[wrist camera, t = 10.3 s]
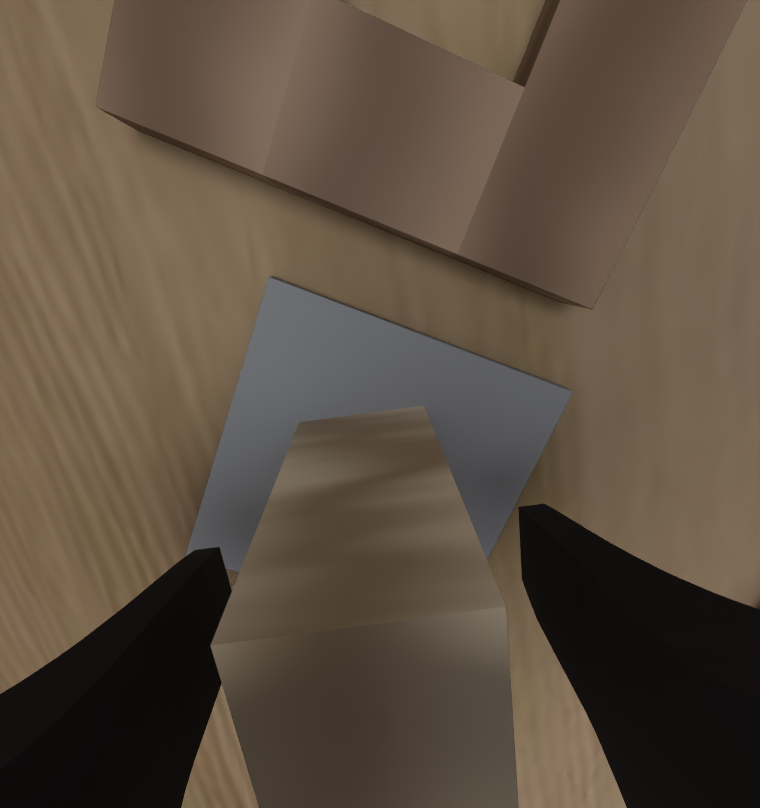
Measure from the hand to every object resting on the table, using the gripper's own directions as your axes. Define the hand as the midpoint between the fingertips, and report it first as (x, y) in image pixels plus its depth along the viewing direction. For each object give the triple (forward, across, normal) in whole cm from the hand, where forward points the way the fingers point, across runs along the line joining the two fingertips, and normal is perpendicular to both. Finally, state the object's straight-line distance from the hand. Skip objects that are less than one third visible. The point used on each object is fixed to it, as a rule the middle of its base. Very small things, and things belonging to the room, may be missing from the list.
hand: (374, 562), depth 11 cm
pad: (+5, 0, 0) cm, 5 cm away
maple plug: (+5, 0, 0) cm, 5 cm away
